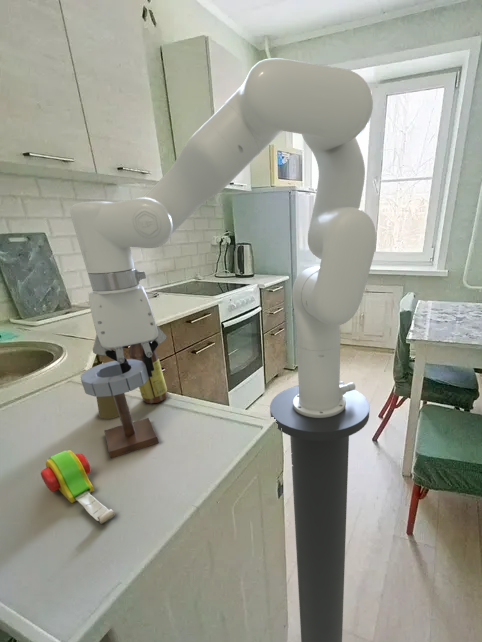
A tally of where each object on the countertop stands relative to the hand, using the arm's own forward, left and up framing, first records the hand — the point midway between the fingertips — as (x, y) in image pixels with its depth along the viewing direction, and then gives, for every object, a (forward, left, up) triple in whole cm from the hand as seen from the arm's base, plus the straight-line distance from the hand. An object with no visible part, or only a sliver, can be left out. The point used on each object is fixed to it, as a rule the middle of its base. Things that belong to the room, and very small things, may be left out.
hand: (139, 376), depth 69 cm
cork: (+6, -15, -14) cm, 21 cm away
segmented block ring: (+4, 0, 0) cm, 4 cm away
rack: (+4, 0, -13) cm, 14 cm away
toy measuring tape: (+14, +13, -14) cm, 23 cm away
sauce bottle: (-4, -16, -14) cm, 21 cm away
